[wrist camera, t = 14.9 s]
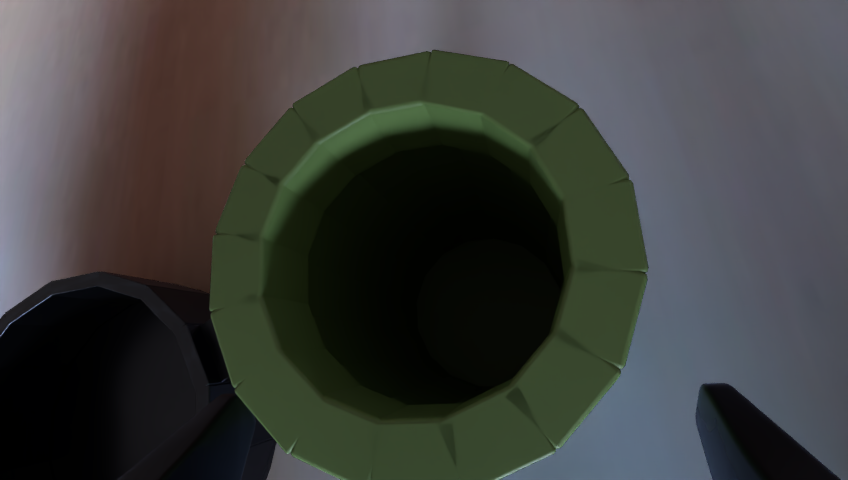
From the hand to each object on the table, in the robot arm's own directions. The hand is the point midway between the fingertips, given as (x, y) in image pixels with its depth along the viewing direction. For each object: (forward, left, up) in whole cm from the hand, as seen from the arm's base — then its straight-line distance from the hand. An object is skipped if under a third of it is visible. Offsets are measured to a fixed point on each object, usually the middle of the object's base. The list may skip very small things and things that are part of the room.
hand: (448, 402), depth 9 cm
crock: (+1, -2, -10) cm, 10 cm away
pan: (+14, +7, -10) cm, 18 cm away
